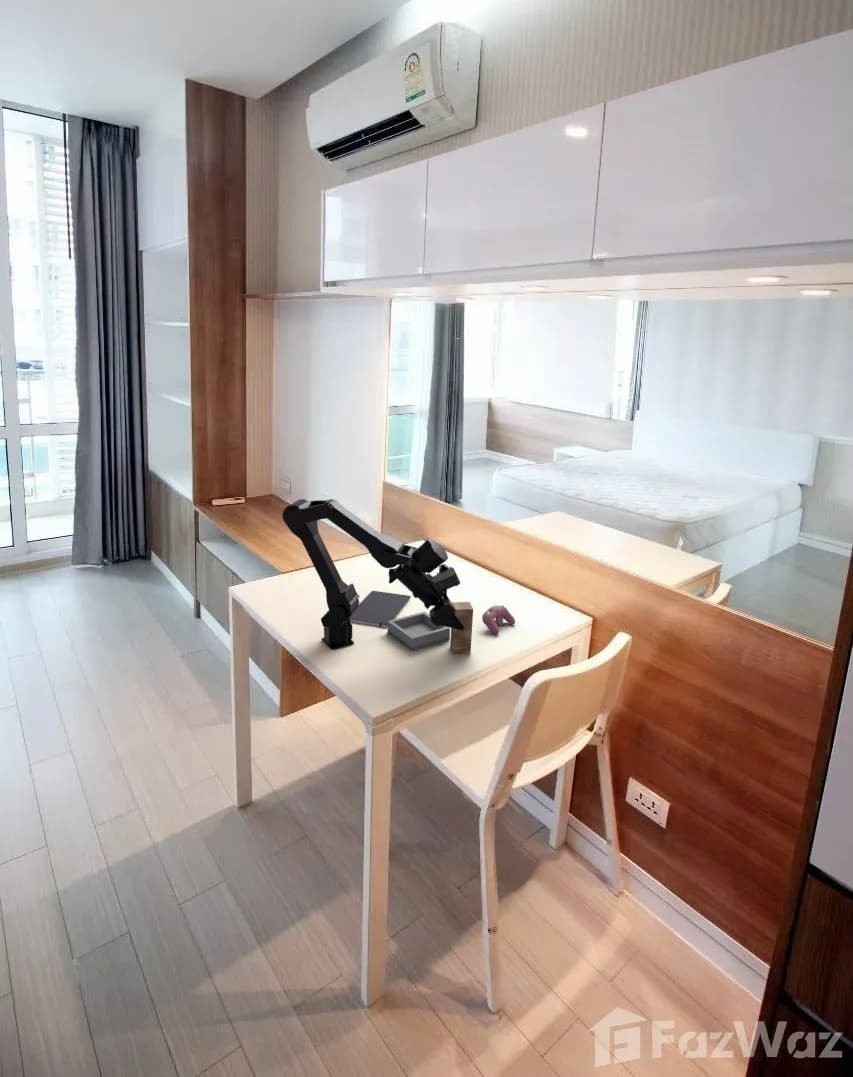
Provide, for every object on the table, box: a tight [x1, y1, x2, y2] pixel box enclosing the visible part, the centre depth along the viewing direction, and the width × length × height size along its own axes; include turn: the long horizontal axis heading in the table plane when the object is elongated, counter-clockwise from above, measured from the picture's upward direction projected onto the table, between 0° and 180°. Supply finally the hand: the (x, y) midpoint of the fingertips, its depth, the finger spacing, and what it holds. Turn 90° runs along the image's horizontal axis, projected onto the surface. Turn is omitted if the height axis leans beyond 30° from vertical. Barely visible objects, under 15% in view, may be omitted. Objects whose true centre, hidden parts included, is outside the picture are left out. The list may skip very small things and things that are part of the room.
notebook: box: [349, 590, 412, 628], centre depth 190 cm, size 13×2×21 cm
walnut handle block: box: [449, 601, 474, 655], centre depth 166 cm, size 4×4×12 cm
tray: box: [387, 611, 451, 652], centre depth 174 cm, size 12×12×4 cm
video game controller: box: [481, 604, 516, 636], centre depth 181 cm, size 10×5×7 cm, turn 141°
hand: (459, 621), depth 165 cm, fingers open, 9 cm apart
